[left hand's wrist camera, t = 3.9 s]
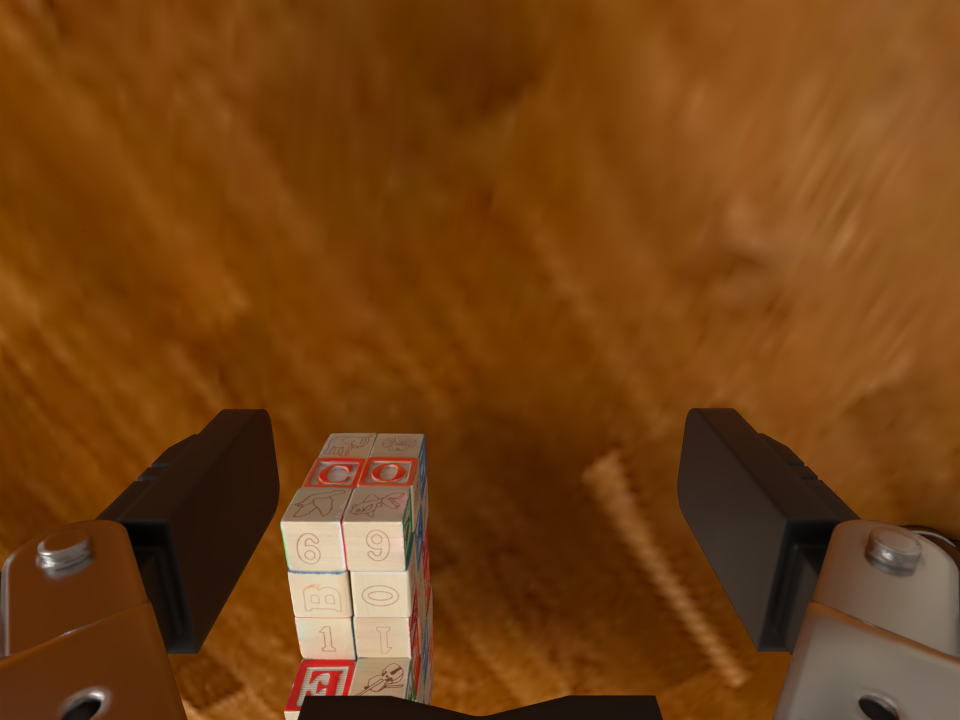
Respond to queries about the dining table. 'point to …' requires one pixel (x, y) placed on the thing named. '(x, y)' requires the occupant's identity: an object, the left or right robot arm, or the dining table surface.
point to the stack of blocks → (362, 571)
